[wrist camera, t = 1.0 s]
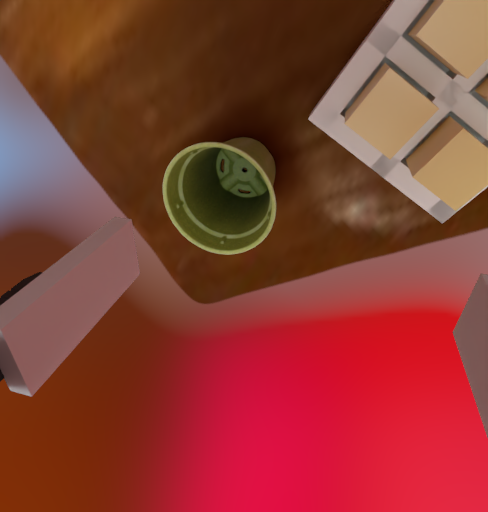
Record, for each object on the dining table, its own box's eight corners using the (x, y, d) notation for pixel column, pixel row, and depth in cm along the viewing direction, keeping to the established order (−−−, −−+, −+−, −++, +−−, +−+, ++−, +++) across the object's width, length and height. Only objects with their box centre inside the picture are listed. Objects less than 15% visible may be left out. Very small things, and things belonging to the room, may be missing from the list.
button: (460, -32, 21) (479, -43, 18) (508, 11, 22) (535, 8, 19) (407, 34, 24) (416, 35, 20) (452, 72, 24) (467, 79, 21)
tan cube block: (449, 115, 25) (463, 128, 22) (490, 149, 26) (509, 166, 23) (405, 159, 28) (412, 177, 24) (444, 189, 28) (455, 211, 25)
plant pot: (202, 206, 39) (168, 246, 31) (197, 114, 33) (155, 137, 26) (288, 217, 37) (272, 262, 30) (296, 121, 31) (280, 148, 24)
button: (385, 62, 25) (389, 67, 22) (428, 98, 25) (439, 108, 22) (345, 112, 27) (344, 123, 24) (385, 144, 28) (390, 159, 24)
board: (451, -80, 23) (466, -96, 20) (604, 59, 24) (638, 63, 21) (312, 110, 31) (307, 119, 28) (434, 205, 32) (442, 223, 29)
